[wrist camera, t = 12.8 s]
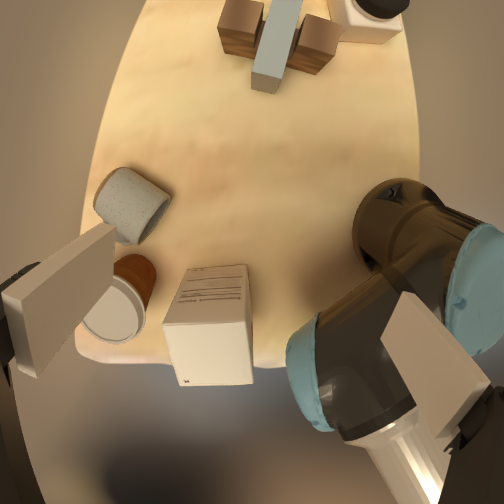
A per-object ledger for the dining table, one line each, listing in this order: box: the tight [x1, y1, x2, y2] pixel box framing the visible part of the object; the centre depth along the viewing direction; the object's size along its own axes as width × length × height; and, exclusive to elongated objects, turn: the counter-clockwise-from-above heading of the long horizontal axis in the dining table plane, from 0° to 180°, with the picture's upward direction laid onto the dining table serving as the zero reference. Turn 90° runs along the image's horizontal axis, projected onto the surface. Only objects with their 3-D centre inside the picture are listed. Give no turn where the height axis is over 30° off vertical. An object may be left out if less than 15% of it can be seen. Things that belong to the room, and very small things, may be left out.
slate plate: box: [251, 0, 303, 94], centre depth 29 cm, size 3×12×10 cm, turn 167°
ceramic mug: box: [93, 167, 171, 246], centre depth 37 cm, size 11×8×8 cm
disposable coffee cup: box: [81, 254, 156, 344], centre depth 38 cm, size 10×10×12 cm
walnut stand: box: [217, 0, 342, 75], centre depth 29 cm, size 12×4×10 cm, turn 76°
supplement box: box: [162, 264, 254, 386], centre depth 38 cm, size 9×9×15 cm
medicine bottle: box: [327, 0, 410, 44], centre depth 26 cm, size 7×7×12 cm
